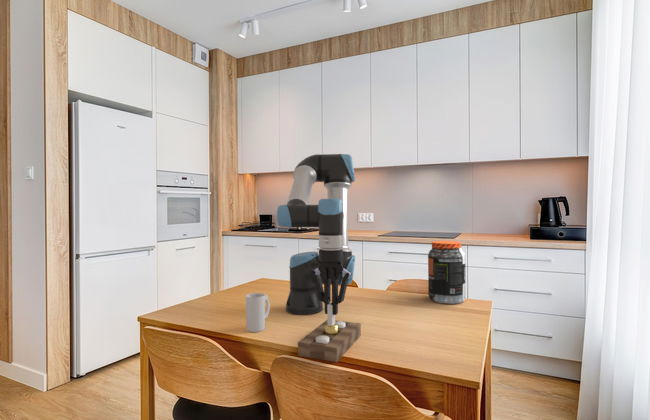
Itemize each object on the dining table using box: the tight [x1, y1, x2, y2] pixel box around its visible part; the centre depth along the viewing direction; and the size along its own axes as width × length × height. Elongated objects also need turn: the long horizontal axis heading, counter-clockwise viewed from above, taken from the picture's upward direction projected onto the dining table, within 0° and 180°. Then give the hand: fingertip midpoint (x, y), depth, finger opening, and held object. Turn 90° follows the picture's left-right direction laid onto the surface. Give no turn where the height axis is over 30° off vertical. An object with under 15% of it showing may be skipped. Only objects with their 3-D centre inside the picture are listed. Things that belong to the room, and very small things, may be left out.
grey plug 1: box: [316, 335, 329, 344], centre depth 111 cm, size 4×4×4 cm
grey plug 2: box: [335, 320, 346, 328], centre depth 124 cm, size 4×4×4 cm
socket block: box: [297, 319, 362, 363], centre depth 118 cm, size 22×12×4 cm, turn 157°
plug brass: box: [325, 324, 338, 336], centre depth 118 cm, size 4×4×4 cm
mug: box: [245, 292, 271, 333], centre depth 134 cm, size 10×7×12 cm, turn 142°
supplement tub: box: [427, 240, 467, 305], centre depth 168 cm, size 16×16×26 cm
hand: (331, 324), depth 118 cm, fingers closed
